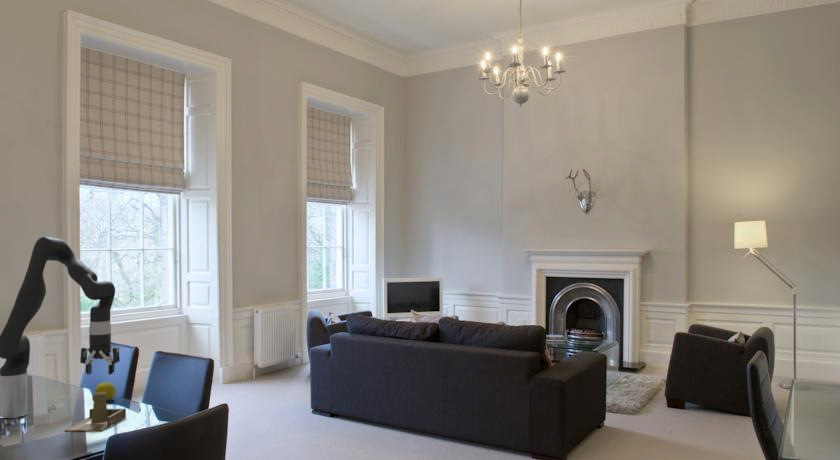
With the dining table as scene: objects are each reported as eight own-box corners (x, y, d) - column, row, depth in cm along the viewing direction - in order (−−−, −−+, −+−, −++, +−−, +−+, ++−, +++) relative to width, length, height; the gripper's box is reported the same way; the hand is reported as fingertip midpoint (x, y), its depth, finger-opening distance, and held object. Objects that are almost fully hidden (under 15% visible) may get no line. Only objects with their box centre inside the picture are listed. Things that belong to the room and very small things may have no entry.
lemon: (119, 400, 273) (119, 382, 273) (100, 404, 267) (100, 385, 267) (110, 396, 280) (110, 379, 280) (91, 399, 275) (91, 381, 275)
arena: (64, 431, 229) (64, 422, 230) (91, 417, 247) (91, 408, 247) (101, 431, 229) (101, 422, 229) (125, 417, 247) (125, 408, 247)
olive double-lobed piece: (87, 422, 238) (87, 394, 238) (98, 418, 244) (98, 390, 244) (101, 423, 237) (101, 394, 237) (112, 419, 243) (112, 391, 243)
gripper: (123, 331, 244) (122, 372, 244) (87, 331, 245) (87, 372, 244) (113, 334, 237) (113, 376, 237) (76, 334, 237) (76, 376, 237)
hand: (99, 374), depth 240 cm, fingers open, 8 cm apart
